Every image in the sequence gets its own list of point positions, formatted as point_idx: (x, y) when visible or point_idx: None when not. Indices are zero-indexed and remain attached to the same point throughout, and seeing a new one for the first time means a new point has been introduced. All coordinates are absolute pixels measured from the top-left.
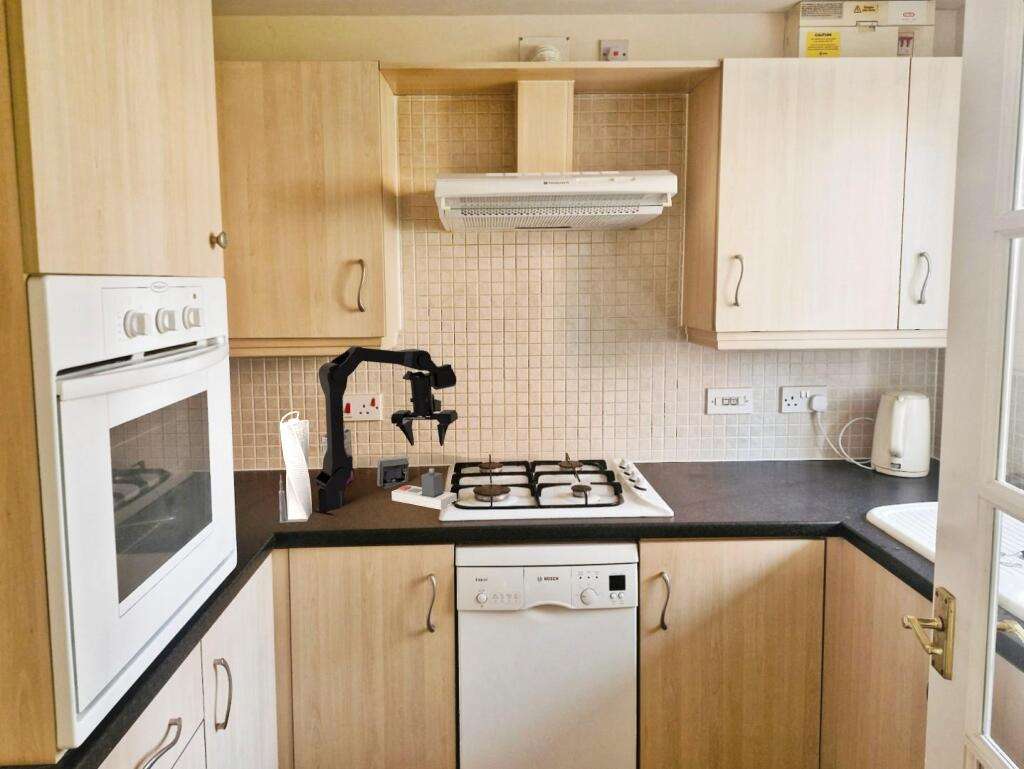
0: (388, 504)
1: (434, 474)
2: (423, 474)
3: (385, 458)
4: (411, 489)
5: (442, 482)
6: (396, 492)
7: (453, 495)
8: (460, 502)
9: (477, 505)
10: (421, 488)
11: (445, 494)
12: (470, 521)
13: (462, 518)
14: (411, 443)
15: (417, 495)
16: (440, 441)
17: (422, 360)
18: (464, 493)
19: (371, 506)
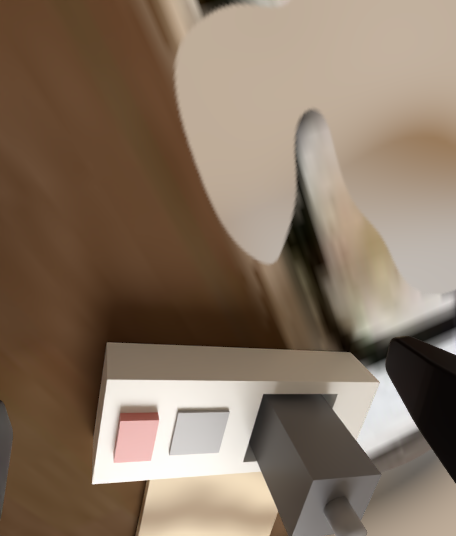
0: (84, 449)
1: (349, 502)
2: (296, 528)
3: None
4: (176, 433)
5: (353, 437)
6: (123, 480)
7: (370, 397)
8: (352, 313)
9: (415, 317)
10: (209, 394)
11: (342, 409)
12: (418, 439)
13: (393, 432)
14: (2, 478)
15: (239, 468)
16: (434, 429)
17: None
18: (337, 199)
19: (30, 495)
